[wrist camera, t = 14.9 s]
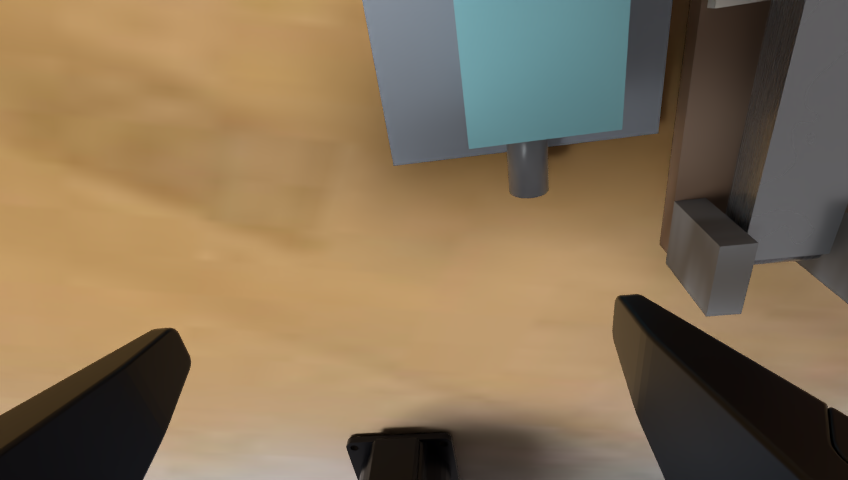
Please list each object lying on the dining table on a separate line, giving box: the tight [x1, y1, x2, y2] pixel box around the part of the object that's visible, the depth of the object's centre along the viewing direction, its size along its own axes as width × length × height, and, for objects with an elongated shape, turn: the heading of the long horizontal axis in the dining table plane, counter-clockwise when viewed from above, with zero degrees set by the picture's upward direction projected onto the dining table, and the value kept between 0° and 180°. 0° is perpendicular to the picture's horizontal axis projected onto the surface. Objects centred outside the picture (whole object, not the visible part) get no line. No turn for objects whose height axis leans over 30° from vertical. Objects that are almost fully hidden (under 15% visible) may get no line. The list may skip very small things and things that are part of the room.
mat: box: [362, 0, 673, 166], centre depth 15 cm, size 10×10×1 cm
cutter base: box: [660, 0, 848, 316], centre depth 14 cm, size 16×6×4 cm, turn 8°
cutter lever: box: [725, 0, 848, 265], centre depth 14 cm, size 15×3×2 cm, turn 8°
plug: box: [453, 0, 631, 198], centre depth 13 cm, size 9×4×5 cm, turn 9°
